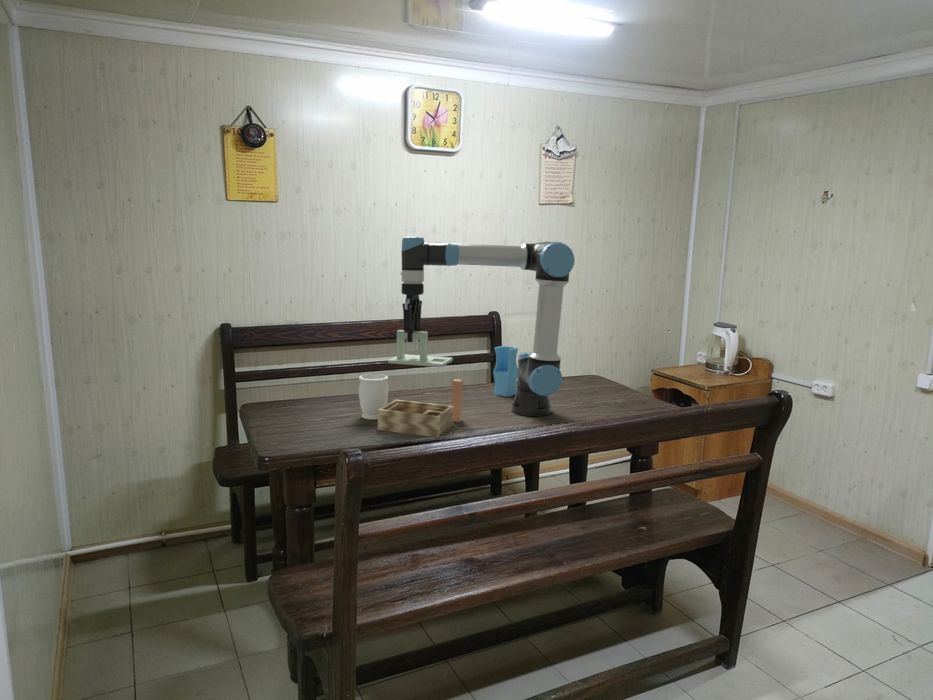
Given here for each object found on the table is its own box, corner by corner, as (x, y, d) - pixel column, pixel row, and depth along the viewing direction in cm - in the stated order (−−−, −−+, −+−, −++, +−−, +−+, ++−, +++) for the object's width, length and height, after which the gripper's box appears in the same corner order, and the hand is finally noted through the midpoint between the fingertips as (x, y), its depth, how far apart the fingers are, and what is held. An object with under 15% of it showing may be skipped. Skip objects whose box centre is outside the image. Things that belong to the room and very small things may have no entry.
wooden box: (453, 425, 222) (453, 405, 220) (438, 437, 208) (439, 417, 206) (395, 418, 228) (395, 399, 227) (377, 429, 214) (377, 409, 213)
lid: (452, 360, 222) (453, 331, 220) (442, 367, 210) (442, 336, 209) (401, 356, 227) (401, 327, 225) (388, 363, 215) (388, 332, 214)
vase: (492, 393, 268) (494, 347, 265) (501, 390, 275) (503, 345, 271) (508, 397, 264) (510, 350, 261) (517, 393, 270) (519, 347, 267)
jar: (374, 422, 222) (375, 381, 219) (352, 417, 227) (352, 377, 224) (393, 416, 231) (394, 376, 228) (372, 411, 236) (372, 372, 233)
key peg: (461, 420, 228) (462, 379, 225) (459, 422, 225) (460, 381, 223) (453, 419, 229) (455, 379, 226) (451, 421, 226) (452, 380, 224)
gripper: (410, 280, 223) (410, 346, 227) (393, 283, 208) (393, 353, 213) (430, 281, 221) (429, 347, 225) (415, 284, 206) (414, 355, 211)
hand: (412, 350), depth 219 cm, fingers closed on lid, 2 cm apart
